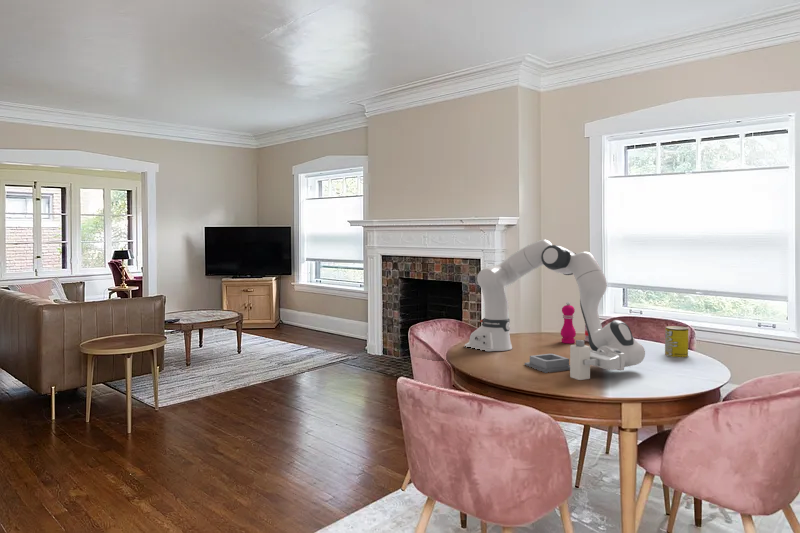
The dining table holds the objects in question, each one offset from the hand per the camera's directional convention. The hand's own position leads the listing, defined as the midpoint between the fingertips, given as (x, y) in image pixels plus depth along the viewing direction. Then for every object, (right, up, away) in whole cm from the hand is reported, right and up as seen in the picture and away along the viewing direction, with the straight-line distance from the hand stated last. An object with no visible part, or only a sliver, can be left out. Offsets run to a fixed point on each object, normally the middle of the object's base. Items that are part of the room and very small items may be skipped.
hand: (578, 360), depth 208 cm
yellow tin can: (+54, -4, +36) cm, 65 cm away
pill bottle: (+29, -2, +70) cm, 76 cm away
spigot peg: (+1, -6, +1) cm, 7 cm away
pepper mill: (+17, -3, +67) cm, 69 cm away
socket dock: (-6, -6, +18) cm, 19 cm away
